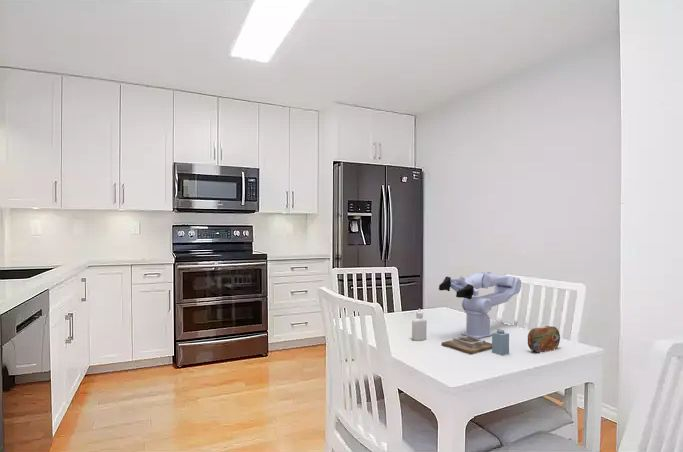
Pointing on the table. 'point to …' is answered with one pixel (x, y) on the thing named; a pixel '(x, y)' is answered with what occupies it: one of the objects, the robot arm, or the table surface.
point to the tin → (543, 339)
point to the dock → (468, 344)
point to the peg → (500, 342)
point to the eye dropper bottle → (419, 327)
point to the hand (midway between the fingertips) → (448, 290)
